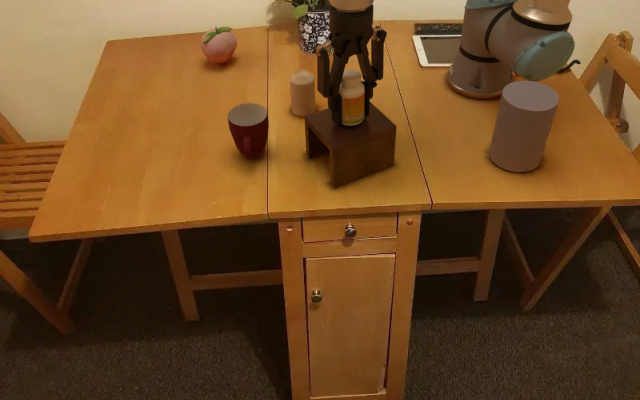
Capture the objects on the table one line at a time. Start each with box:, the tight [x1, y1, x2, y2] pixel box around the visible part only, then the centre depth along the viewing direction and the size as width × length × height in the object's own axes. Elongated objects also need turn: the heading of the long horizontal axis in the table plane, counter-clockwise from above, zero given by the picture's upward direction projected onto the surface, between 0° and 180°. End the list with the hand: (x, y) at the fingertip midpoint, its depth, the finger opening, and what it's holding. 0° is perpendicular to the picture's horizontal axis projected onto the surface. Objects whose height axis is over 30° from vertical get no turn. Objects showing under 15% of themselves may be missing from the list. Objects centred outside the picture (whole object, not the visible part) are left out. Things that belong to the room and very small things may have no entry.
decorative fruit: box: [200, 26, 238, 64], centre depth 147 cm, size 9×8×10 cm
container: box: [488, 80, 560, 173], centre depth 115 cm, size 10×10×15 cm
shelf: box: [303, 101, 398, 189], centre depth 117 cm, size 14×12×10 cm
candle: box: [289, 68, 317, 118], centre depth 131 cm, size 6×6×10 cm
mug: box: [227, 102, 270, 160], centre depth 119 cm, size 10×8×10 cm
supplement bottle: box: [338, 69, 365, 126], centre depth 110 cm, size 5×5×10 cm
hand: (350, 117), depth 113 cm, fingers closed on supplement bottle, 5 cm apart
